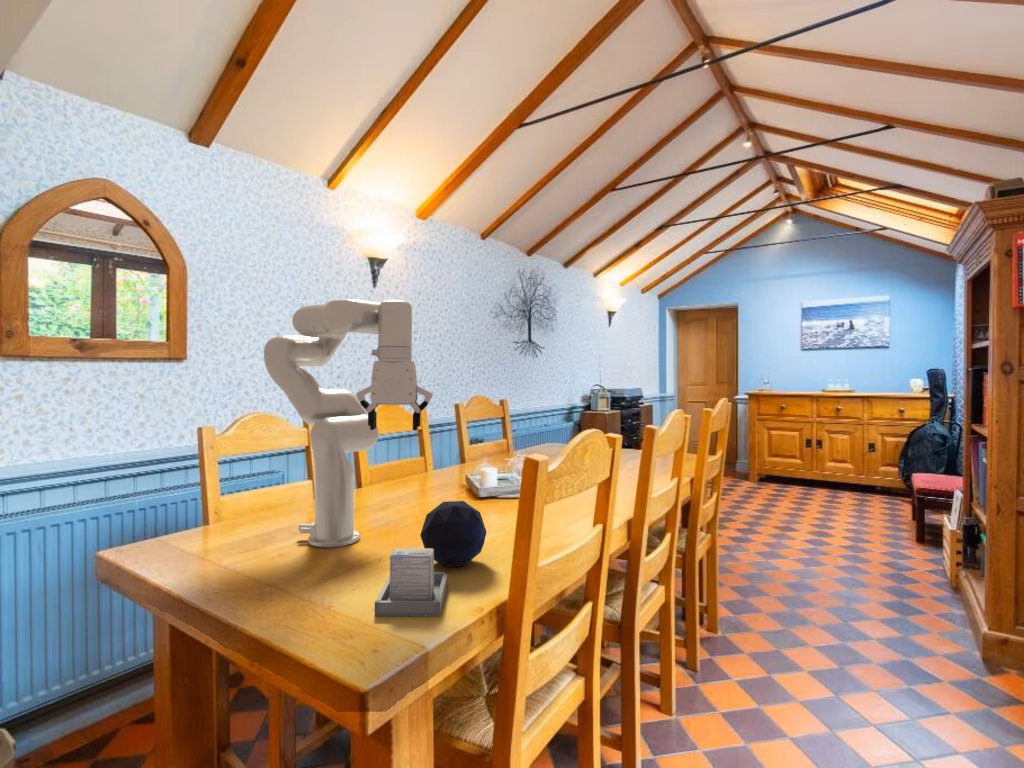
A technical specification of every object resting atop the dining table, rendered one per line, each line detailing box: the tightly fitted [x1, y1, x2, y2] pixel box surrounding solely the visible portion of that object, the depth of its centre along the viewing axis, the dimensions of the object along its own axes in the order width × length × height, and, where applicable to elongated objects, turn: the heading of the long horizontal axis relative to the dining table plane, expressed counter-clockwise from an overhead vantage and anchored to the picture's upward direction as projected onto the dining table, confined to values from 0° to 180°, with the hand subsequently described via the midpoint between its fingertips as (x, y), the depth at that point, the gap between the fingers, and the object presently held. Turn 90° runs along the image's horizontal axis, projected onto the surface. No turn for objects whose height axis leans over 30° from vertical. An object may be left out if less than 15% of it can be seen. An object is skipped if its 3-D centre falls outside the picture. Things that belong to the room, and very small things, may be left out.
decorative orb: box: [420, 500, 487, 568], centre depth 124 cm, size 14×15×15 cm
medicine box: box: [389, 547, 435, 601], centre depth 104 cm, size 8×4×9 cm, turn 92°
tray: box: [374, 571, 449, 617], centre depth 105 cm, size 12×15×2 cm
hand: (394, 429), depth 126 cm, fingers open, 9 cm apart
